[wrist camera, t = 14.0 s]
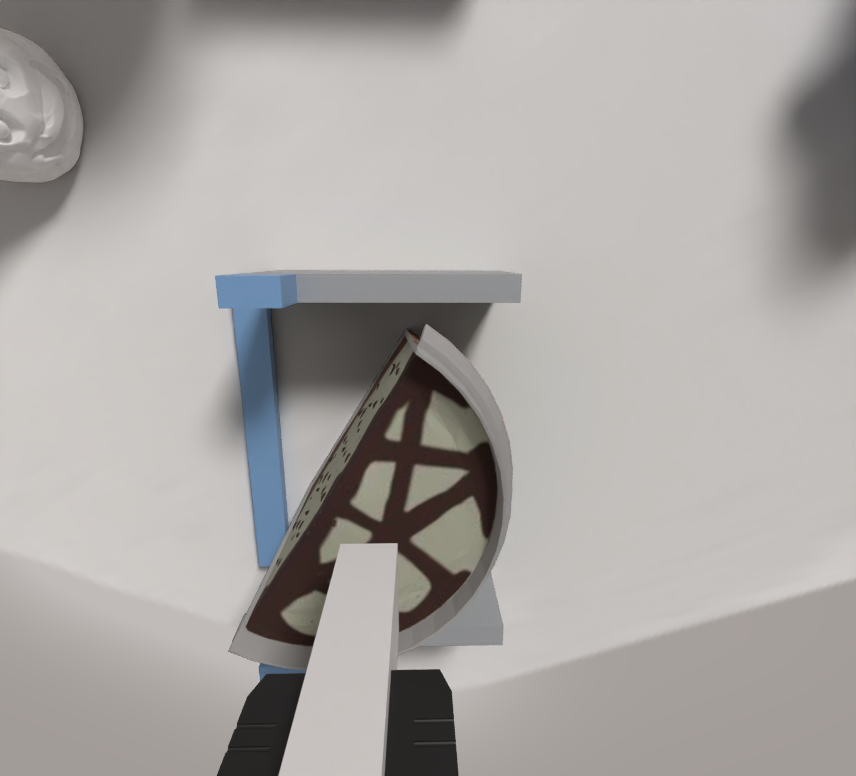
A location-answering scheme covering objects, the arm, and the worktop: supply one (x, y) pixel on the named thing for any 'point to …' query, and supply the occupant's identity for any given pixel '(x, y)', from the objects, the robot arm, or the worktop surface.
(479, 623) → the blue-edged channel bracket
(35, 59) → the garlic bulb
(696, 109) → the worktop surface
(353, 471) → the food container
